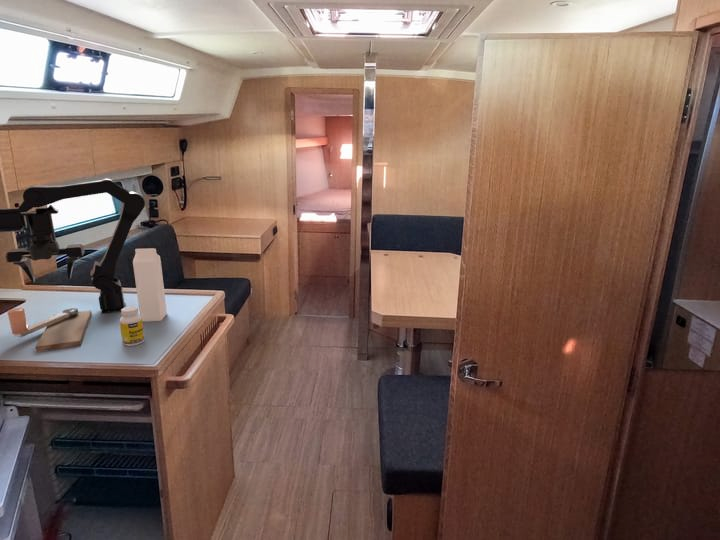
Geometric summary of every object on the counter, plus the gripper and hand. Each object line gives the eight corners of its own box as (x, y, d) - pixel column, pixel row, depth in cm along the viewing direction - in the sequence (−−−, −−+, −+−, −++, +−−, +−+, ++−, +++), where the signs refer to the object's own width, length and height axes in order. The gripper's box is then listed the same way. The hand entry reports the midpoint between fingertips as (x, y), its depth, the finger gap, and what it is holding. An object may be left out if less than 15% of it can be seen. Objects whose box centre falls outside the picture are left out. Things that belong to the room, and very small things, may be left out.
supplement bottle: (130, 348, 122) (125, 313, 119) (118, 343, 124) (113, 309, 122) (149, 340, 126) (144, 307, 123) (137, 336, 129) (132, 303, 126)
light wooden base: (91, 314, 144) (91, 310, 144) (80, 345, 123) (79, 340, 122) (54, 319, 140) (53, 314, 140) (36, 352, 119) (35, 346, 119)
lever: (81, 312, 140) (77, 290, 138) (20, 339, 122) (15, 313, 120) (70, 311, 141) (66, 289, 139) (9, 337, 123) (3, 312, 121)
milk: (161, 321, 139) (152, 250, 133) (140, 321, 139) (130, 251, 133) (167, 313, 145) (159, 246, 139) (147, 314, 145) (138, 246, 138)
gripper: (-6, 237, 123) (6, 292, 128) (74, 232, 130) (83, 284, 135) (6, 229, 133) (17, 281, 137) (80, 225, 140) (88, 274, 144)
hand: (51, 280), depth 138 cm, fingers open, 9 cm apart
